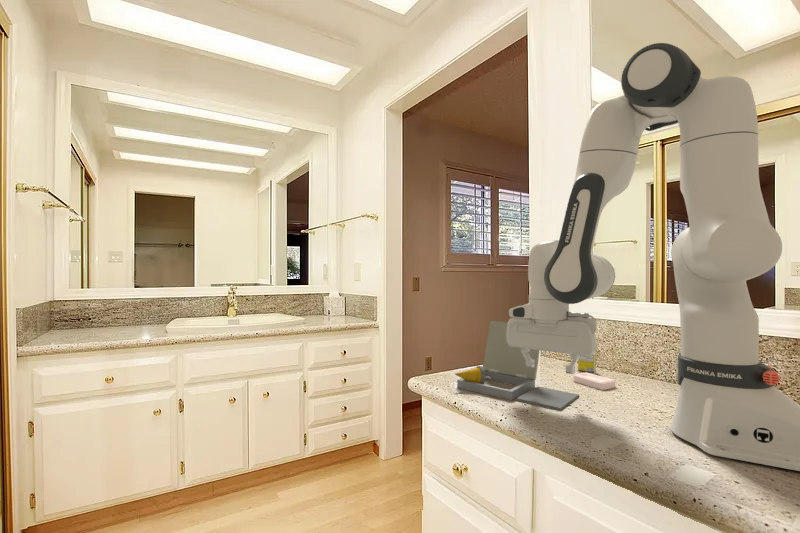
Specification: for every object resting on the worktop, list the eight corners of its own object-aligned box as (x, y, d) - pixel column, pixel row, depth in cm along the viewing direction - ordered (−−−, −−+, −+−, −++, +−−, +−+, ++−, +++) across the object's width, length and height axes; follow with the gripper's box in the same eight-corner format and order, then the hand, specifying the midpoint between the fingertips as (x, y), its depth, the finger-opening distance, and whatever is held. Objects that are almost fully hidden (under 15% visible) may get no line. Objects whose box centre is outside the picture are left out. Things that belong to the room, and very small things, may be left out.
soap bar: (586, 380, 112) (586, 371, 112) (616, 389, 104) (616, 379, 104) (572, 382, 109) (572, 373, 109) (602, 392, 101) (602, 382, 101)
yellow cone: (488, 367, 108) (452, 362, 106) (496, 368, 103) (458, 363, 101) (486, 388, 107) (450, 384, 105) (495, 390, 102) (457, 385, 100)
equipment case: (546, 381, 110) (546, 324, 110) (511, 400, 94) (511, 334, 94) (496, 371, 120) (495, 319, 120) (457, 387, 104) (457, 327, 104)
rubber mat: (578, 397, 96) (578, 394, 96) (560, 410, 87) (560, 408, 87) (537, 388, 103) (537, 386, 103) (516, 400, 94) (516, 398, 94)
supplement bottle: (582, 369, 121) (582, 341, 121) (598, 373, 118) (598, 344, 118) (574, 372, 118) (574, 343, 118) (591, 376, 115) (590, 346, 115)
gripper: (600, 312, 90) (601, 374, 90) (514, 307, 104) (515, 361, 104) (591, 314, 86) (592, 380, 86) (502, 309, 99) (503, 366, 99)
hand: (549, 370), depth 95 cm, fingers open, 8 cm apart
